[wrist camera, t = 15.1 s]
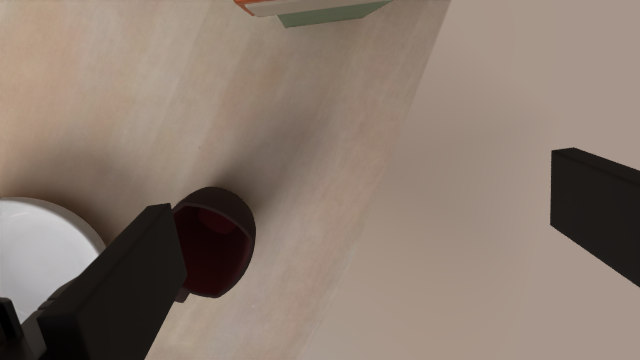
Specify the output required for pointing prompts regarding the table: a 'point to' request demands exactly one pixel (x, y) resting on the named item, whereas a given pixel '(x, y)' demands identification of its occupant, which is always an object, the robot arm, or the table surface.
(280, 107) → the table surface
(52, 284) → the serving bowl
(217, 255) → the mug
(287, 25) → the box stack
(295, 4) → the terracotta rectangular block
